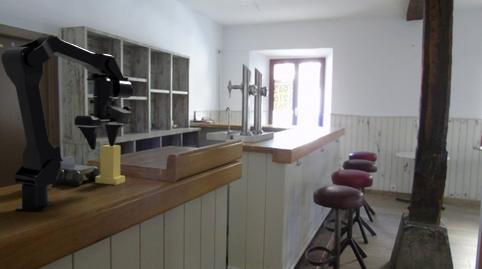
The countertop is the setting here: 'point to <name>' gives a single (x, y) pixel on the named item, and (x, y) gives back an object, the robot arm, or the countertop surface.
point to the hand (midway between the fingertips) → (102, 147)
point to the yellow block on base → (110, 165)
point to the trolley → (75, 172)
